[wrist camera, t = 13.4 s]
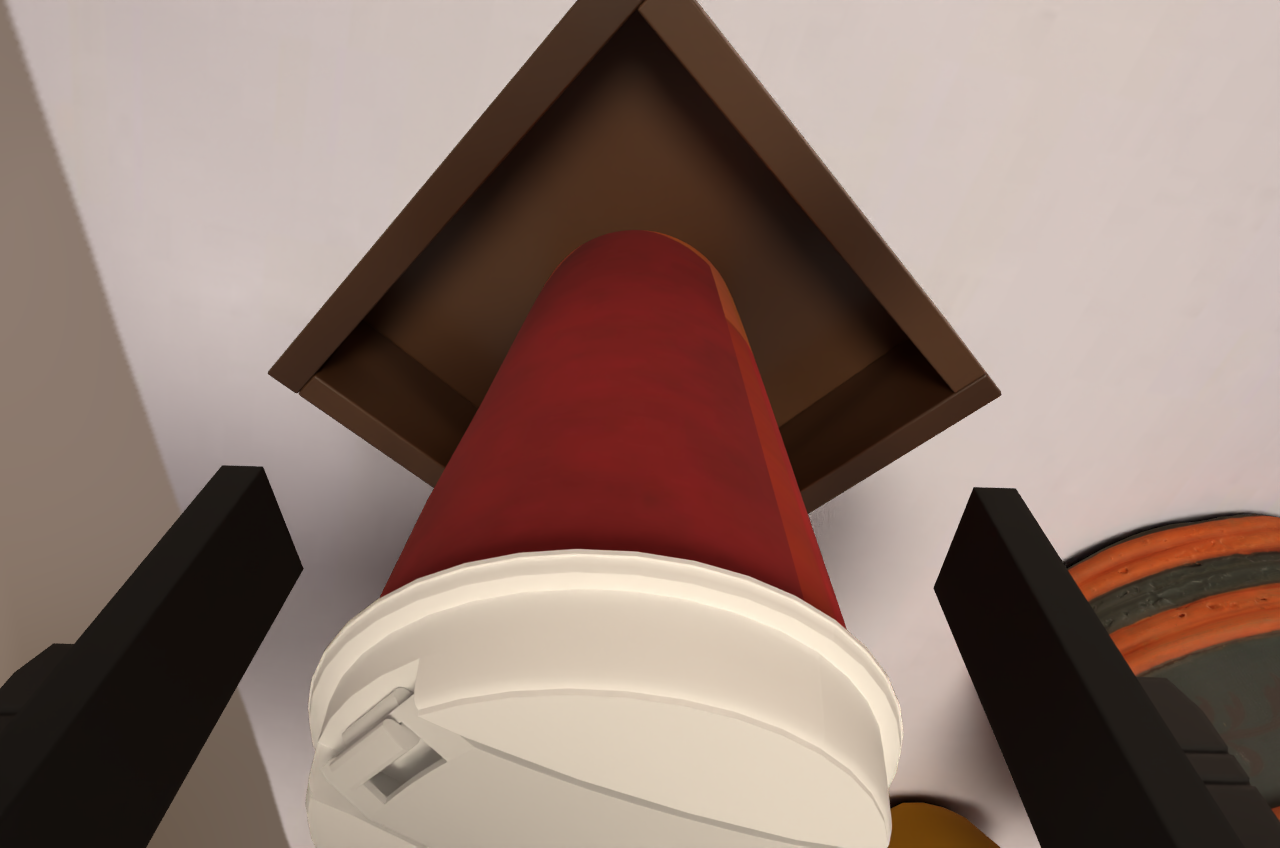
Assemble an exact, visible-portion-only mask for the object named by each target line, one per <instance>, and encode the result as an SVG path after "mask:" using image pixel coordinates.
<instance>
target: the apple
mask: <svg viewBox="0 0 1280 848" xmlns="http://www.w3.org/2000/svg"><path fill="white" fill-rule="evenodd" d="M890 810H891V819H892V831H891V837H890V842H889V846H888V847H887V848H1000V847H999V846H998V845H997V844H996V843H994V842H993V841H992V840H991V839H990V838H989V837H987V836H986V835H985V834H984V833H983V832H981V831H980V830H979V829H978V828H977V827H976V826H974V825H973V824H972V823H971V822H970V821H968V820H967V819H966V818H965V817H963V816H961V815H959V814H957V813H955V812H953V811H950V810H948V809H946V808H943V807H940V806H936V805H931V804H927V803H901V804H899V805H897V806H895V807H893V808H891V809H890Z"/></svg>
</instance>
